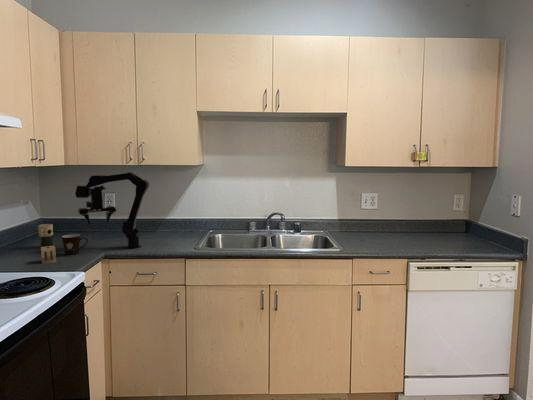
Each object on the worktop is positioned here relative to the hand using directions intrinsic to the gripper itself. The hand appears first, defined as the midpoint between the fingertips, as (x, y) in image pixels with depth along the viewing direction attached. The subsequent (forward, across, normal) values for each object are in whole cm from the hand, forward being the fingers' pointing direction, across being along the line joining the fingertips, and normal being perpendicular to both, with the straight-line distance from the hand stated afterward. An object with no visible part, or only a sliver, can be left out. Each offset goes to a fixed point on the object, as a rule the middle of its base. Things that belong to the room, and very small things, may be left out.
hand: (98, 225), depth 213 cm
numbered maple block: (+13, +26, +13) cm, 32 cm away
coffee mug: (+13, +14, +7) cm, 20 cm away
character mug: (+14, +24, -21) cm, 34 cm away
